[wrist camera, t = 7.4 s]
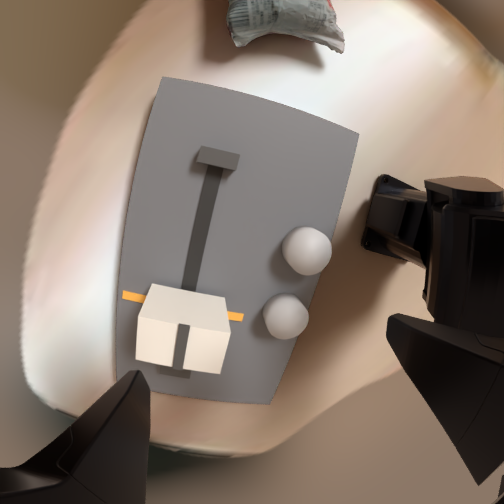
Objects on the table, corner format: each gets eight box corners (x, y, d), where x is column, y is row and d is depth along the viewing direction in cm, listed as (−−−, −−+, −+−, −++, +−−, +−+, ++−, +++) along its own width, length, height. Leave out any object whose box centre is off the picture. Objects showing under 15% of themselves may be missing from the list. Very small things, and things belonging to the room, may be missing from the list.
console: (166, 85, 16) (158, 68, 13) (346, 136, 19) (371, 131, 16) (121, 369, 22) (112, 395, 18) (265, 390, 25) (273, 416, 22)
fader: (152, 282, 18) (137, 316, 13) (224, 296, 19) (231, 333, 14) (147, 321, 18) (135, 361, 14) (215, 334, 19) (219, 376, 15)
